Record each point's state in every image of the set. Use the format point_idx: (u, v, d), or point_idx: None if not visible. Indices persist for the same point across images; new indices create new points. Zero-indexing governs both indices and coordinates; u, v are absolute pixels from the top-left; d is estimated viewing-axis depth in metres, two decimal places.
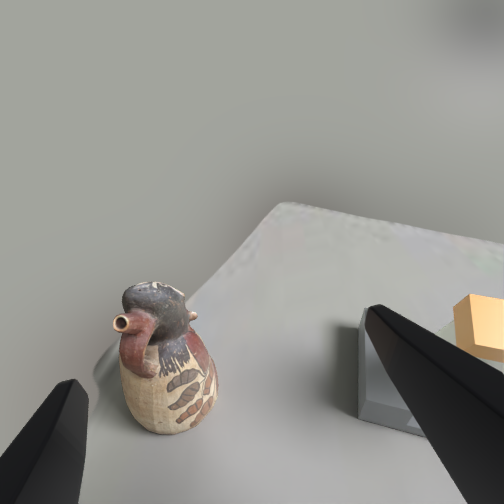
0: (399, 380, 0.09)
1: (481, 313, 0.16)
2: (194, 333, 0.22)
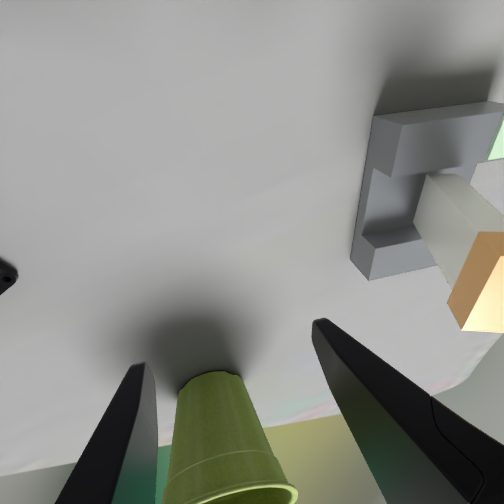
0: (339, 397, 0.08)
1: None
2: None
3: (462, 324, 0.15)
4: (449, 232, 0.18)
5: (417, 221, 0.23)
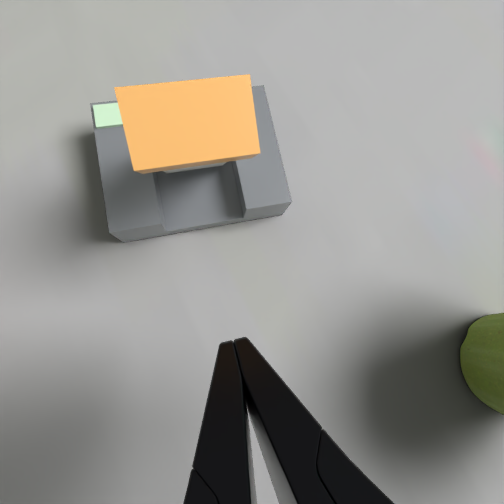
0: (253, 423, 0.08)
1: (135, 119, 0.10)
2: None
3: (253, 154, 0.12)
4: None
5: (216, 165, 0.21)
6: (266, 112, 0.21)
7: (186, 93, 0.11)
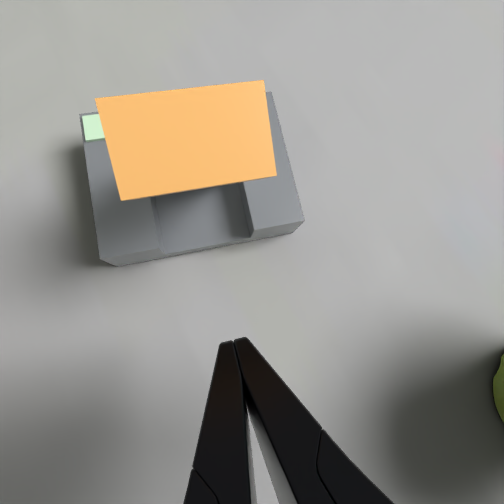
0: (253, 422, 0.08)
1: (122, 137, 0.08)
2: None
3: (267, 176, 0.10)
4: None
5: None
6: (274, 121, 0.19)
7: (185, 104, 0.09)
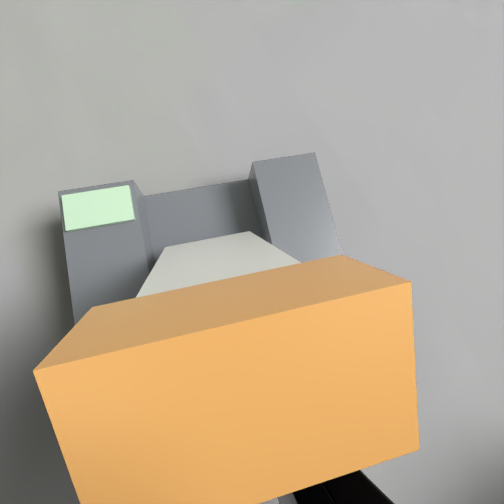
0: None
1: (100, 439, 0.04)
2: None
3: None
4: None
5: None
6: (320, 193, 0.14)
7: (245, 352, 0.04)
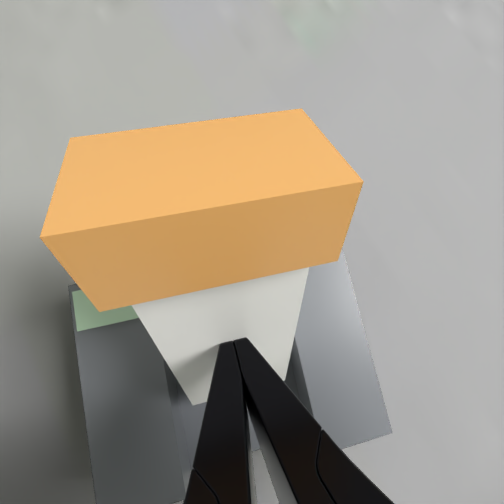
0: (253, 422, 0.08)
1: (88, 163, 0.05)
2: None
3: (345, 191, 0.05)
4: (217, 339, 0.08)
5: None
6: (344, 278, 0.14)
7: (194, 131, 0.06)
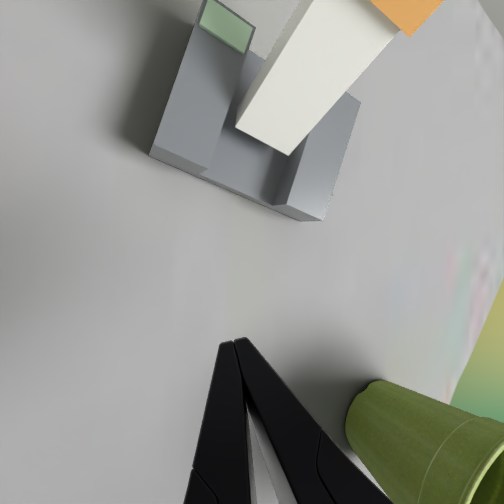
0: (253, 423, 0.08)
1: None
2: None
3: None
4: (314, 60, 0.15)
5: (289, 143, 0.19)
6: (349, 128, 0.21)
7: None
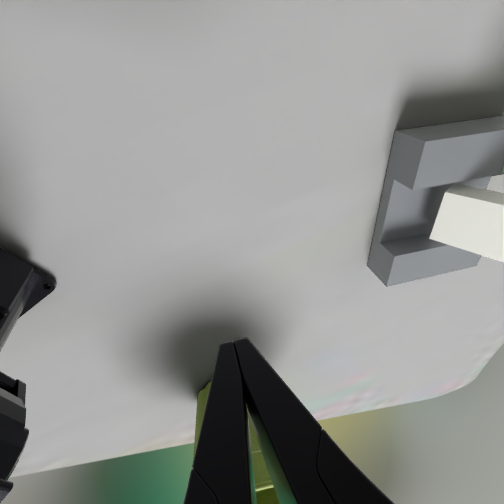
0: (253, 423, 0.08)
1: None
2: None
3: None
4: None
5: (442, 236, 0.23)
6: (456, 268, 0.26)
7: None
